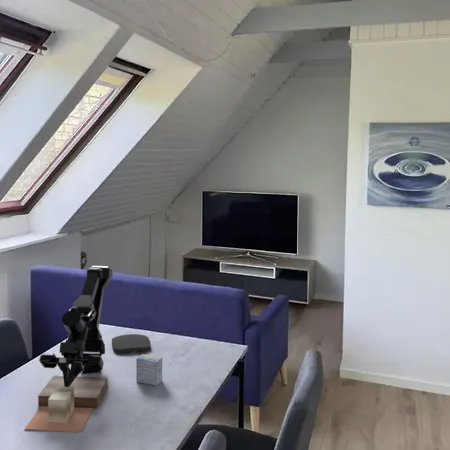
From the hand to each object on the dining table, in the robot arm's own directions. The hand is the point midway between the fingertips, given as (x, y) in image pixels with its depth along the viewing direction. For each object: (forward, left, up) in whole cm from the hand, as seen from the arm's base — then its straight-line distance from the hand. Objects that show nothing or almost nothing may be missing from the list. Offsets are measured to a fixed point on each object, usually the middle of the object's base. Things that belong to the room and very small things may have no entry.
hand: (66, 388), depth 159 cm
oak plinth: (-3, -8, -7) cm, 10 cm away
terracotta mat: (+2, +6, -7) cm, 9 cm away
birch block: (0, 0, -3) cm, 3 cm away
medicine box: (-28, -12, -7) cm, 31 cm away
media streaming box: (-27, -45, -7) cm, 53 cm away
